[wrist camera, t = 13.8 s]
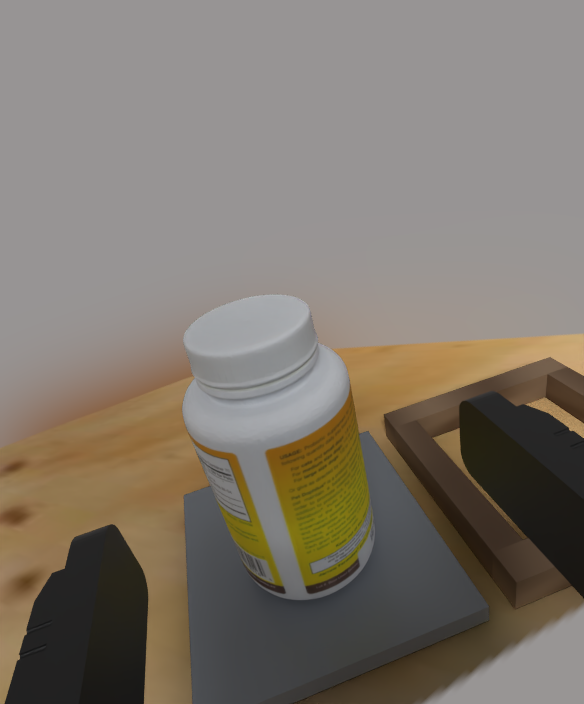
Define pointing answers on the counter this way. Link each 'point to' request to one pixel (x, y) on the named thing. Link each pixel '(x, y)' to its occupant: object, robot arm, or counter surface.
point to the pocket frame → (459, 492)
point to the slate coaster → (320, 603)
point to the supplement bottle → (280, 445)
